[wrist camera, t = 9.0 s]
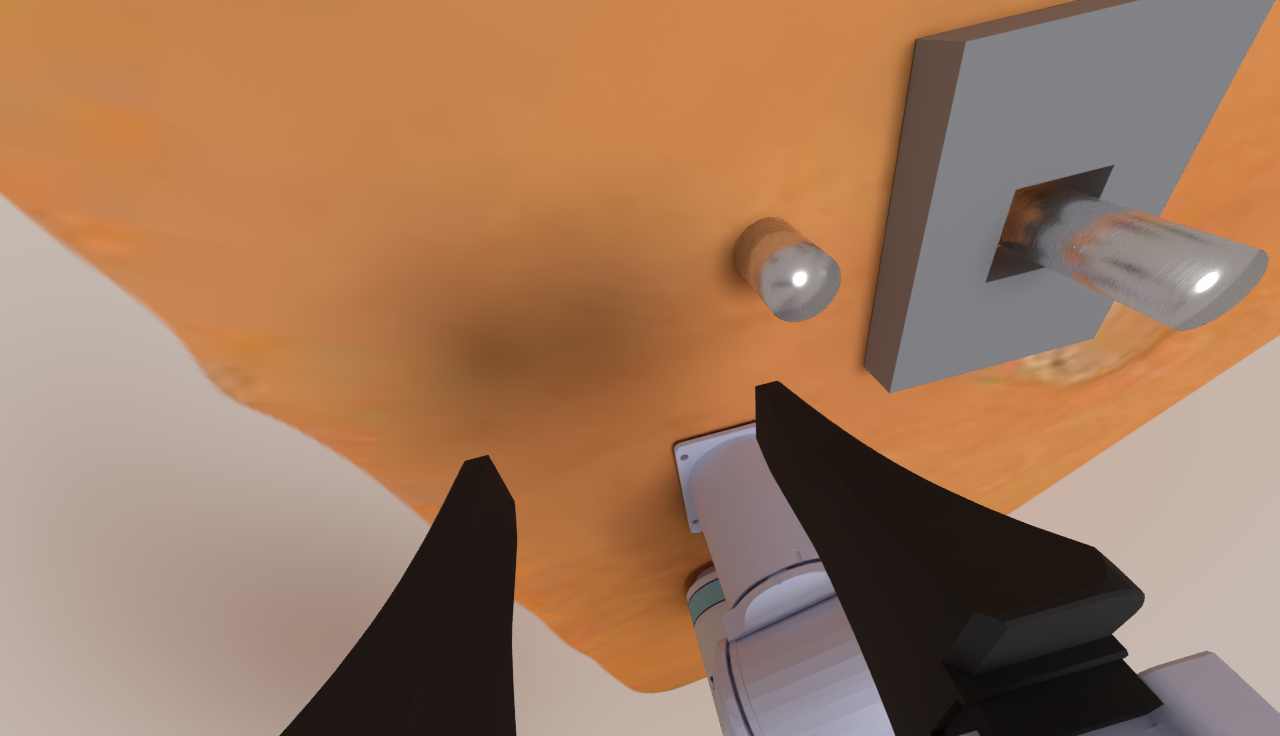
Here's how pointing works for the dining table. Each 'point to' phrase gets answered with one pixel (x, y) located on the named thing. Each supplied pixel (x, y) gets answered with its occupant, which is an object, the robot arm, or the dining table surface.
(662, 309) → the dining table surface
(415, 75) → the dining table surface
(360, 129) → the dining table surface
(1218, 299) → the tall pin
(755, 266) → the short pin
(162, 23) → the dining table surface
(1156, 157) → the hole board
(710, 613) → the beverage can
